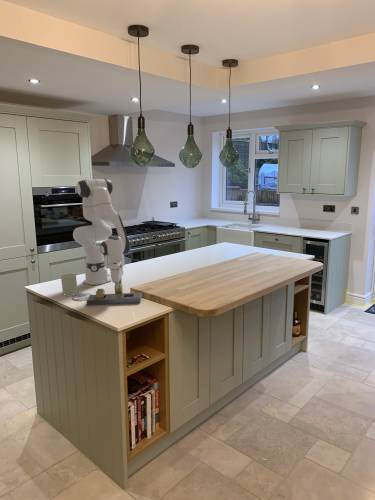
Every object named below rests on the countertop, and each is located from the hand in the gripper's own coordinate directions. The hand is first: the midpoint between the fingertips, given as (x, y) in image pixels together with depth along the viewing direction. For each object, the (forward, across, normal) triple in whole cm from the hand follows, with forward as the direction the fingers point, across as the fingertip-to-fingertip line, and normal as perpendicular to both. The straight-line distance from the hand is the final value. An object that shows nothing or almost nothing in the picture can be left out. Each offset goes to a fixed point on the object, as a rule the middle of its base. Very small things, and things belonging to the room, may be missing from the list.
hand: (118, 285), depth 229 cm
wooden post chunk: (+7, -1, 0) cm, 7 cm away
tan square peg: (+7, +8, -9) cm, 14 cm away
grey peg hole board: (+7, +8, -1) cm, 11 cm away
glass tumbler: (+6, -11, -32) cm, 35 cm away
